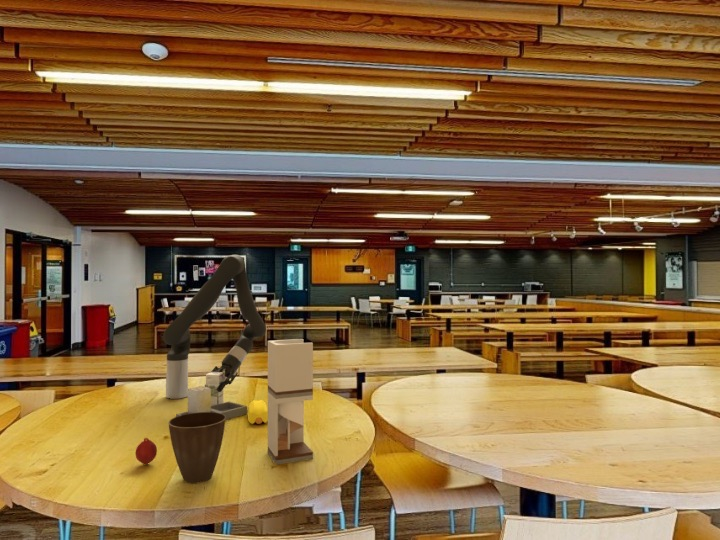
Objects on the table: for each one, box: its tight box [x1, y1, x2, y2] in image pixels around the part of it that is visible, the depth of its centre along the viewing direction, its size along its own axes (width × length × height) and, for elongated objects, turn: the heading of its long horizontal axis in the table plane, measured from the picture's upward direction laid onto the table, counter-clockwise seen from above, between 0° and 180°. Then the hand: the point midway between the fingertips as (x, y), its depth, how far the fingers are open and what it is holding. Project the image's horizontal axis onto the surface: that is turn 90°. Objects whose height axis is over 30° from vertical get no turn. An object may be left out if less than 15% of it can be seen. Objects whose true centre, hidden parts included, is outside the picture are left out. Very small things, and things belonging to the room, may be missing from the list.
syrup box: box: [205, 371, 225, 406], centre depth 204 cm, size 6×6×14 cm
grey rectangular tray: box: [175, 401, 248, 421], centre depth 188 cm, size 12×24×3 cm, turn 142°
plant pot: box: [167, 412, 226, 484], centre depth 132 cm, size 15×15×16 cm
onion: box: [135, 437, 158, 465], centre depth 141 cm, size 6×6×8 cm
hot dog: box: [247, 399, 268, 425], centre depth 187 cm, size 18×7×8 cm
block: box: [187, 385, 211, 414], centre depth 184 cm, size 6×6×12 cm
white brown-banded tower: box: [267, 338, 314, 465], centre depth 149 cm, size 11×11×35 cm
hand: (212, 389), depth 203 cm, fingers open, 8 cm apart
